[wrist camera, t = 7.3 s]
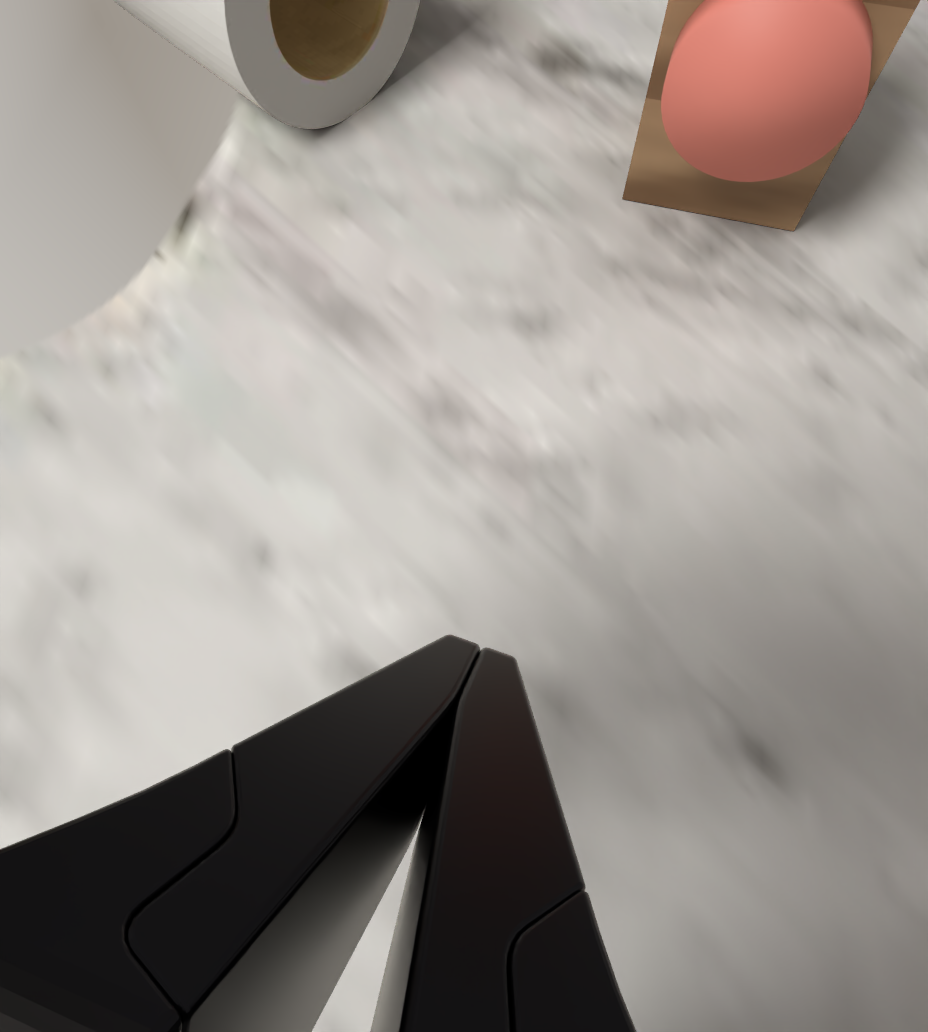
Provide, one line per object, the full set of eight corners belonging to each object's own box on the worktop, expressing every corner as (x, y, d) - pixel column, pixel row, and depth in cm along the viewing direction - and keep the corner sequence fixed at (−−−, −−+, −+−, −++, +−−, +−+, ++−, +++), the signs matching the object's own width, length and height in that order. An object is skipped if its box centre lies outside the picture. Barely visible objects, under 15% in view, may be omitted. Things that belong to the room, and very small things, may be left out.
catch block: (793, 234, 28) (965, -80, 18) (621, 202, 29) (695, -114, 19) (807, 128, 30) (969, -205, 20) (648, 101, 31) (726, -231, 21)
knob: (814, 195, 24) (914, 15, 19) (643, 165, 25) (689, -18, 19) (832, 52, 27) (924, -142, 21) (677, 29, 28) (727, -165, 22)
